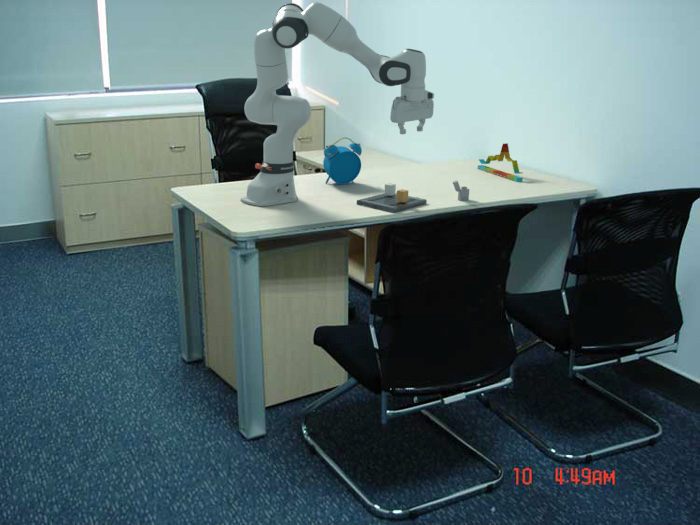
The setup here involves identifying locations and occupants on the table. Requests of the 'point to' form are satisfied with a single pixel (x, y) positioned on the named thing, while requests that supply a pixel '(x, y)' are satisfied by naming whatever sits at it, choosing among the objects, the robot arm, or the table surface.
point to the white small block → (390, 189)
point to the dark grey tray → (390, 202)
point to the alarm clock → (342, 162)
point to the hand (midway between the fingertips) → (411, 132)
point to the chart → (500, 158)
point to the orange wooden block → (402, 195)
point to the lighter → (461, 191)
